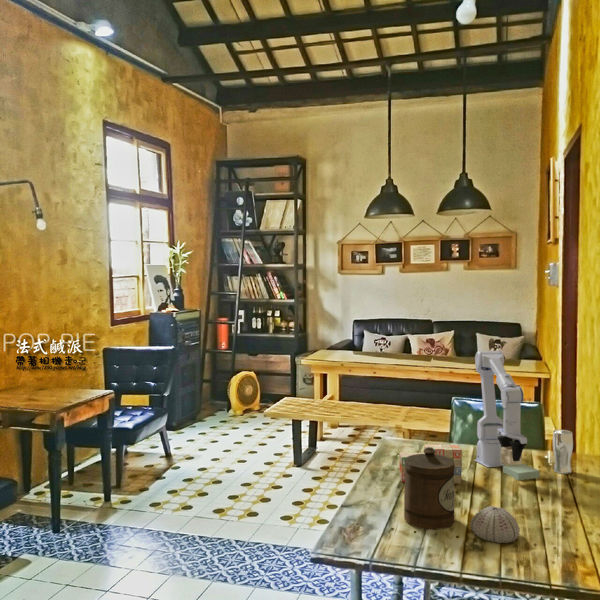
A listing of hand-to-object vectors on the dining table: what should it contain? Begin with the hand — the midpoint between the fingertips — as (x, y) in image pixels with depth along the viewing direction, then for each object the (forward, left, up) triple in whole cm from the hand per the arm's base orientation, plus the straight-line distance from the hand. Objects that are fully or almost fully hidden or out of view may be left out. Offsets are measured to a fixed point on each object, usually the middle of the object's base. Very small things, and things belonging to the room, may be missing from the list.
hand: (511, 458), depth 218 cm
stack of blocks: (-10, -27, -9) cm, 30 cm away
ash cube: (0, 0, -1) cm, 1 cm away
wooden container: (+22, -45, -9) cm, 51 cm away
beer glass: (-4, +25, -9) cm, 27 cm away
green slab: (-5, +8, -9) cm, 13 cm away
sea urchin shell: (+38, -33, -9) cm, 51 cm away
